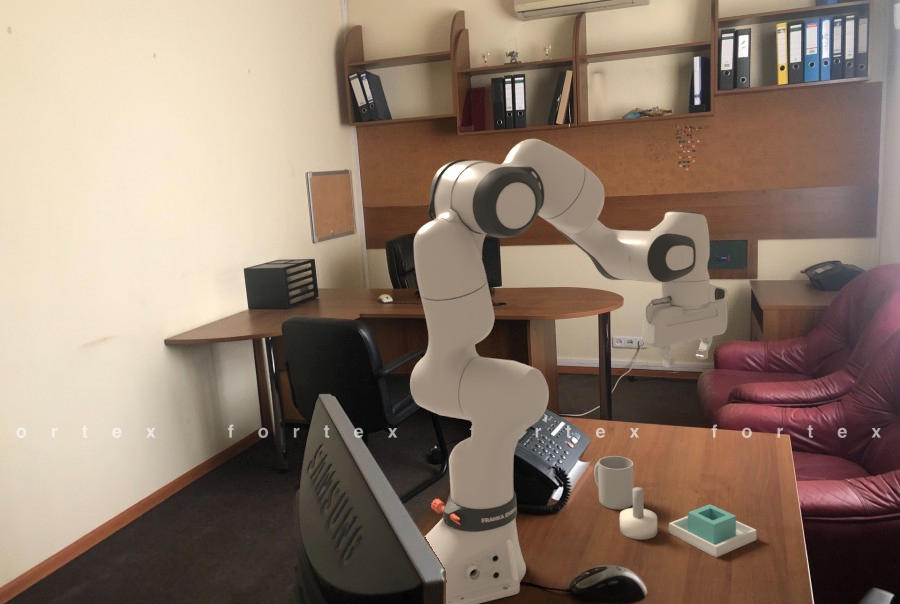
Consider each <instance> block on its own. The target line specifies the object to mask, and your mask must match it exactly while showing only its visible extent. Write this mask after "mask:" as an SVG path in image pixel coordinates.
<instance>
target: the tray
mask: <svg viewBox="0 0 900 604" xmlns="http://www.w3.org/2000/svg"><path fill="white" fill-rule="evenodd" d="M757 531H758V530H757V529H755V528H754V527H751V526H749V525H747V524H744V523H743V522H741V521H738V520H736V536H734V537H732V538H730V539H727V540H725V541H722V542H720V543H718V544H715V545H714V544H712V543H710V542H708V541H706V540H704V539H702V538H700V537H698V536H696V535H694V534H692V533H690V532H688V515H686V516H684V517H681V518H679V519H677V520H673V521H672V522H669V523H668V534H670V535H672V536H673V537H676V538H678V539H679V540H682V541H684V542H685V543H688V544H689V545H691V546H693V547H695V548H697V549H698V550H700V551H703V552H704V553H707V554H708V555H709V556H711V557H714V558H718V557H721V556H723V555H725V554H728V553H730V552H731V551H734V550H737V549H738V548H741V547H743V546H746V545H748V544H750V543H753V542H754V541H757Z"/></svg>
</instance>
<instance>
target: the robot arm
mask: <svg viewBox="0 0 900 604" xmlns="http://www.w3.org/2000/svg"><path fill="white" fill-rule="evenodd" d="M429 192H430V193H429V204H428V205H429V206H428V209H427V213H428V216H429V218H430V220H431V221H429V222H426V223H425V224H424V225H422V226H421V227H420V228H419V229H417V232H416V234H415V236H414V239H413V259H414V260H413V261H414V269H415V274H416V276H415V277H416V282H417V287H418V291H419V295H420V299H421V303H422V307H423V312H424V315H425V321H426V327H427V332H428V343H427V344H428V345H427V349H426V351H425V354H424V355H423V357H421V358H420V360H419V361H417V363H416V364H415V366H414V367H413V370H412V372H411V374H410V380H409V381H410V382H409V386H410V387H409V388H410V393H411V396H412V399H413V400H414V403H416V405H417V406H419V407H421V408H423V409H425V410H427V411H429V412H431V413H434V414H437V415H439V416H444V417H448V418H454V419H455V418H456V419H460V420H461V419H462V420H466V421H469V422H471V424H472V435H471V436H470V437H468V438H466V439H464V440H462V441H460V442H459V443H458V444H456V445H455V446H454V447H453V449H452V450H451V452H450V455H449V457H448V466H449V467H448V468H449V469H448V471H449V483H450V486H449V487H450V493H449V495H448V497H447V501H446V504H445V503H444V502H443V501H442V500H440V498H435V499H434V500H433V501H432V502H431V506H430V507H431V509H432V510H434V511H435V512H436V513H437V514H442V518H441V519H440V520H439V521H438V522H437V524H435V526H433V528H431V530H430V531H428V533H427V534H426V535H424V537H426V539H427V541H428V542H429V544H430V546H431V547H432V549H433V551H434V552H435V554H436V555H437V557H438V558H439V560H440V562H441V563H442V565H443V567H444V568H445V571H446V580H447V583H446V604H482V603H487V602H491V601H494V600H498V599H503V598H506V597H510V596H514V595H518V594H519V593H520V590H521V584H520V583H521V582H522V580H523V579H524V577H525V575H526V572H527V566H526V563H525V560H524V557H523V555H522V551H521V547H520V542H519V536H518V530H517V529H518V528H517V522H516V519H517V517H518V515H517V514H518V507H517V506H518V505H517V495H516V492H515V490H514V459H515V458H514V456H515V451H516V447H517V445H518V442H519V440H520V438H521V436H522V435H523V434H524V433H525V431H526V430H527V429H529V428H530V427H531V426H533V425H535V424H536V423H537V422H538V421H539V420H540V419H541V418H542V417H543V415H544V414H545V411H546V410H547V406H548V404H549V398H550V397H549V396H550V395H549V393H550V392H549V386H548V383H547V381H546V378H545V376H544V374H543V373H542V372H541V370H539V369H538V368H536V367H533V366H530V365H527V364H525V363H521V362H519V361H516V360H511V359H502V358H491V357H484V356H480V355H479V353H478V352H477V349H476V344H478V343H480V342H482V341H483V340H485V339H486V337H488V336H489V334H490V333H491V331H492V329H493V327H494V323H495V319H496V318H495V317H496V316H495V311H494V306H493V301H492V296H491V292H490V287H489V283H488V279H487V273H486V269H485V265H484V262H483V245H484V241H485V237H486V235H488V236H490V237H493V238H499V239H503V238H504V239H505V238H507V239H508V238H512V237H513V238H514V237H517V236H519V235H522V234H523V233H524V232H526V231H527V230H528V229H529V228H530V227H531V226H532V224H533V223H534V222H535V221H536V218H538V217H540V218H541V219H543V220H544V221H546V222H547V223H549V224H550V225H552V226H553V227H554V228H555V229H556V230H557V231H558V232H559V233H560V234H561V235H562V236H564V237H565V238H566V239H568V240H569V241H570V242H571V243H572V244H574V245H575V246H577V248H579V249H580V250H581V251H582V252H584V253H585V254H586V255H587V257H588V258H590V260H591V262H592V264H593V265H594V266H595V269H596V270H597V271H598V273H599V274H601V276H602V277H604V278H606V279H607V280H609V281H610V280H611V281H623V280H624V281H635V282H644V283H654V284H655V283H656V284H657V283H658V284H659V283H660V284H661V297H660V298H653V299H651V300H650V302H648V304H647V306H645V313H644V316H643V317H644V318H643V323H642V334H641V335H642V338H641V339H642V343H643V344H644V345H645V346H646V347H650V348H655V349H657V352H658V353H659V355H660V357H661V359H662V360H661V362H662V367H664V368H672V367H674V366H675V357H672V356H671V354H670V351H671V349H672V345H677V344H683V343H687V342H691V341H696V340H699V341H700V344H699V347H698V348H697V349H695V357H696V359H697V360H706V359H708V358H709V350H710V347H711V345H712V343H713V337H714V336H719V335H723V334H724V333H725V332H726V330H727V327H728V314H729V313H728V305H727V301H725V300H726V299H727V298H728V296H729V295H728V289H727V288H725V287H722V286H719V285H715V284H710V273H709V271H708V263H709V260H710V255H711V254H710V251H711V249H710V232H709V227H708V220H707V218H706V216H705V215H704V214H703V213H700V212H698V211H693V210H681V209H679V210H676V209H675V210H670V211H667V212H665V213H664V217H663V219H662V221H661V222H659V224H657V225H656V226H655V227H653V228H651V229H650V230H625V229H616V228H609V227H607V226H605V225H604V224H603V223H602V222H601V221H600V220H599V217H600V215H601V213H602V210H603V208H604V206H605V205H604V204H605V187H604V184H603V183H602V182H601V180H600V178H599V177H598V176H597V175H596V174H595V173H594V172H593V171H592V170H591V169H589V168H588V167H587V166H586V165H584V164H583V163H581V161H579V160H577V158H575V157H573V156H572V155H570V154H569V153H567V152H566V151H564V150H562V149H560V148H558V147H557V146H555V145H553V144H550V143H548V142H545V141H543V140H541V139H538V138H528V139H524V140H522V141H520V142H518V143H517V144H515V146H513V147H512V148H511V149H510V151H509V152H508V153H507V155H506V157H505V159H504V160H503V162H502V163H501V164H499V163H494V162H491V161H488V160H470V159H457V160H453V161H451V162H448V163H445V165H443V166H442V167H440V168H439V169H438V170H437V171H436V173H435V175H434V176H433V179H432V182H431V187H430V191H429ZM537 216H538V217H537Z"/></svg>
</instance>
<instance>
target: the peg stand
mask: <svg viewBox="0 0 900 604" xmlns="http://www.w3.org/2000/svg"><path fill="white" fill-rule="evenodd" d="M644 505H645V504H644V488H643V487H634V488H633V504H632V507H631V508H630V507H629V508H626V509H622V510H621V511H620V513H619V532H620V533H621V534H622V535H623V536H625V537H626V538H629V539H633V540H643V541H644V540H649V539H652V538H654V537H656V536H657V534H658V516H657V514H656V512H653V511H652V510H649V509H647V508H644Z"/></svg>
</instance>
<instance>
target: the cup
mask: <svg viewBox="0 0 900 604" xmlns="http://www.w3.org/2000/svg"><path fill="white" fill-rule="evenodd" d="M593 475H594V477H593V478H594V481H595V484H596V487H597V488H598V500H599V501H598V502H599V503H600V505H602V506H603V507H604V508H606V509H611V510H625V509H629V508H630V507H631V506H633V488H635V487H634V486H635V485H634V462H633V461H632V459H630V458H627V457H624V456H621V455H619V456H618V455H611V456H610V455H609V456H608V455H607V456H604V457H601V458H600V459H598V461H597V462H596V463H595V465H594V470H593Z"/></svg>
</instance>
